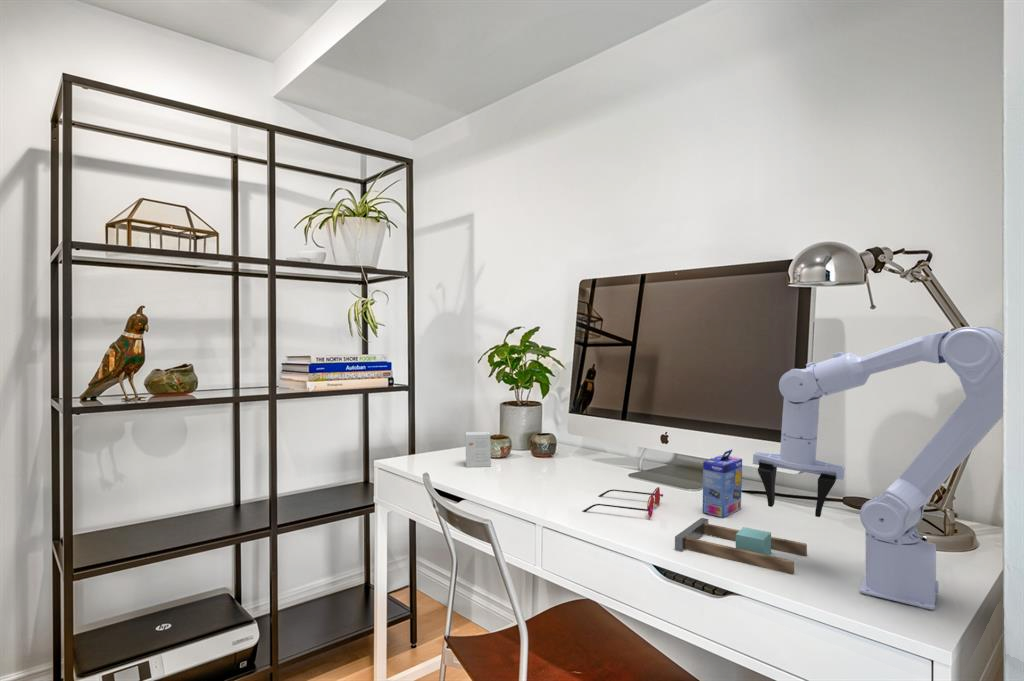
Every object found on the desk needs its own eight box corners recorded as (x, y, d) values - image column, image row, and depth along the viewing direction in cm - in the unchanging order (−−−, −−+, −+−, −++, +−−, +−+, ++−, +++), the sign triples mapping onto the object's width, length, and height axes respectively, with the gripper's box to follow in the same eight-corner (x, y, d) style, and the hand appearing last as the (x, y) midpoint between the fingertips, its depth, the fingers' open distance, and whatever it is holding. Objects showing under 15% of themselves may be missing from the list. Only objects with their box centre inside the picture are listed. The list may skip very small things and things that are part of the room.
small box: (490, 463, 184) (490, 430, 184) (491, 467, 178) (490, 433, 178) (466, 463, 183) (465, 431, 183) (465, 467, 178) (465, 434, 178)
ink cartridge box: (724, 519, 126) (724, 454, 126) (701, 513, 130) (700, 451, 129) (743, 509, 133) (743, 447, 132) (720, 504, 137) (720, 444, 136)
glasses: (652, 522, 125) (652, 500, 125) (581, 513, 132) (581, 492, 132) (663, 505, 138) (663, 484, 138) (598, 497, 145) (598, 478, 145)
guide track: (806, 554, 105) (806, 543, 105) (792, 574, 97) (792, 562, 97) (705, 532, 117) (705, 523, 117) (685, 549, 108) (685, 538, 108)
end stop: (708, 530, 118) (708, 519, 118) (682, 551, 107) (682, 538, 107) (701, 529, 119) (701, 517, 119) (674, 549, 108) (674, 536, 108)
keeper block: (771, 553, 106) (770, 532, 106) (764, 562, 102) (763, 540, 102) (743, 547, 109) (743, 527, 109) (735, 555, 105) (735, 534, 105)
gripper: (848, 438, 99) (842, 513, 100) (760, 426, 108) (756, 495, 109) (844, 445, 94) (838, 525, 95) (752, 432, 102) (747, 505, 103)
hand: (794, 510), depth 101 cm, fingers open, 7 cm apart
